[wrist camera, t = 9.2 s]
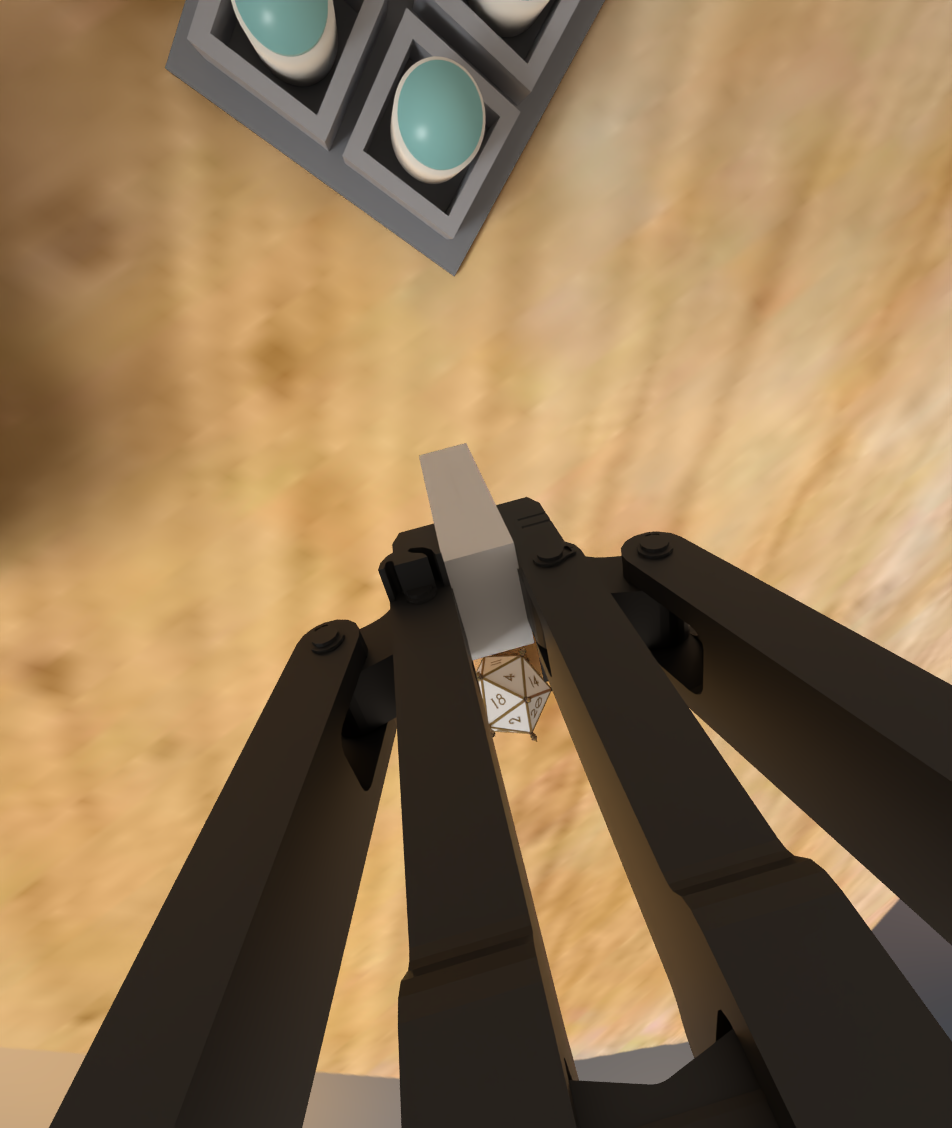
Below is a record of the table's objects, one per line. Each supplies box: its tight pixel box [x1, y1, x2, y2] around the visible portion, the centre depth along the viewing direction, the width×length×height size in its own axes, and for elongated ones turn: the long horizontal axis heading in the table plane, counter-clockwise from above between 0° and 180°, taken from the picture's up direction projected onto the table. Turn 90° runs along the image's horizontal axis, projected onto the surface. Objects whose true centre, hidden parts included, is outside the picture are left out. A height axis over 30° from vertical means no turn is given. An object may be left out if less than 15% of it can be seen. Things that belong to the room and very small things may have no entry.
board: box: [165, 0, 605, 276], centre depth 28 cm, size 18×18×4 cm
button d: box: [231, 0, 338, 86], centre depth 26 cm, size 4×4×5 cm
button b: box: [390, 56, 485, 184], centre depth 27 cm, size 4×4×5 cm
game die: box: [476, 647, 553, 742], centre depth 50 cm, size 9×8×10 cm
